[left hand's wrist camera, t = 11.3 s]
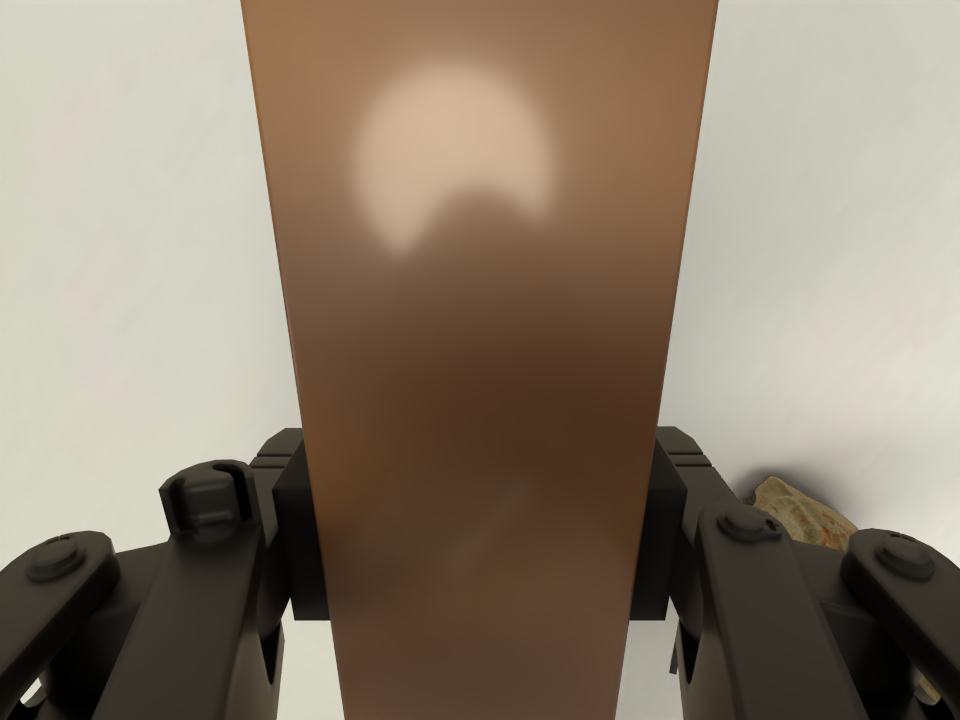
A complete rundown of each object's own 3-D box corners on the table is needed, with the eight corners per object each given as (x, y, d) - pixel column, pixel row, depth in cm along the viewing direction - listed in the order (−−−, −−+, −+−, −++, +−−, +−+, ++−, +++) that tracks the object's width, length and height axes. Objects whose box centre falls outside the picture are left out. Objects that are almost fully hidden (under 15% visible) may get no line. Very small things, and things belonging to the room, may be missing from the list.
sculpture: (776, 580, 30) (1028, 946, 16) (693, 514, 29) (897, 861, 15) (862, 517, 29) (1225, 866, 15) (780, 443, 27) (1103, 759, 13)
